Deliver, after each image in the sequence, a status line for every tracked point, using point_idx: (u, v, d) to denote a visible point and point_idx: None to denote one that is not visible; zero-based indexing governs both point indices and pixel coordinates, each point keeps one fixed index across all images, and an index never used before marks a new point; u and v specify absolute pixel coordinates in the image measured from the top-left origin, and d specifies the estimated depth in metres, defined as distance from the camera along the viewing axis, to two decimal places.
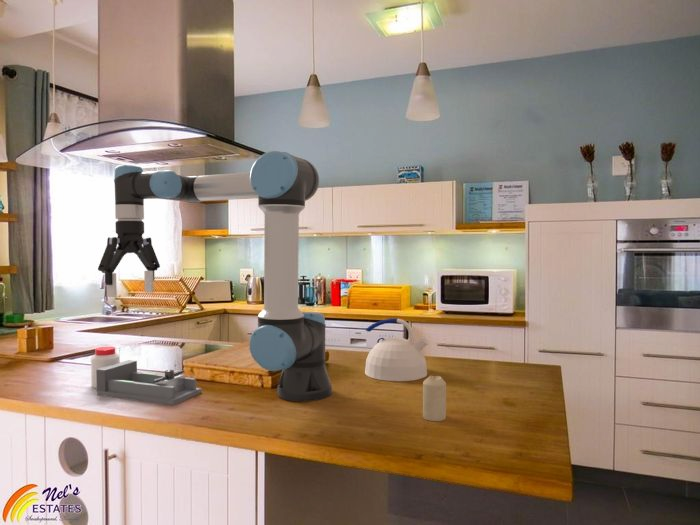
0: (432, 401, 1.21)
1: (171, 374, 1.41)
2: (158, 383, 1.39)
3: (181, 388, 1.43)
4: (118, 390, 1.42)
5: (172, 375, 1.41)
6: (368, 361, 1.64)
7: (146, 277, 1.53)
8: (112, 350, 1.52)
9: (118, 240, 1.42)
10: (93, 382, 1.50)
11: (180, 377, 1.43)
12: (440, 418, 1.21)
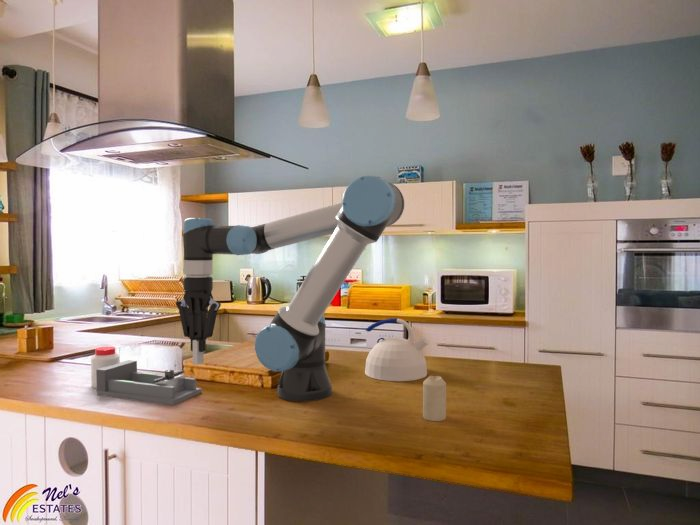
0: (432, 401, 1.21)
1: (171, 374, 1.41)
2: (158, 383, 1.39)
3: (181, 388, 1.43)
4: (118, 390, 1.42)
5: (172, 375, 1.41)
6: (368, 361, 1.64)
7: None
8: (112, 350, 1.52)
9: (183, 300, 1.38)
10: (93, 382, 1.50)
11: (180, 377, 1.43)
12: (440, 418, 1.21)
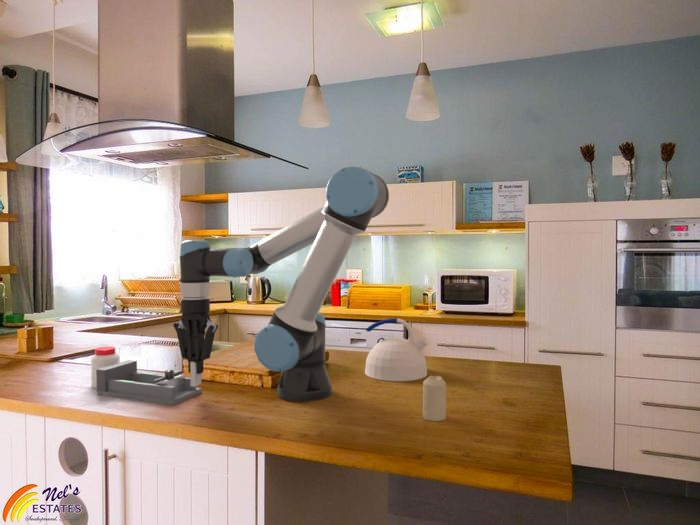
0: (432, 401, 1.21)
1: (171, 374, 1.41)
2: (158, 383, 1.39)
3: (181, 388, 1.43)
4: (118, 390, 1.42)
5: (172, 375, 1.41)
6: (368, 361, 1.64)
7: None
8: (112, 350, 1.52)
9: (181, 322, 1.39)
10: (93, 382, 1.50)
11: (180, 377, 1.43)
12: (440, 418, 1.21)
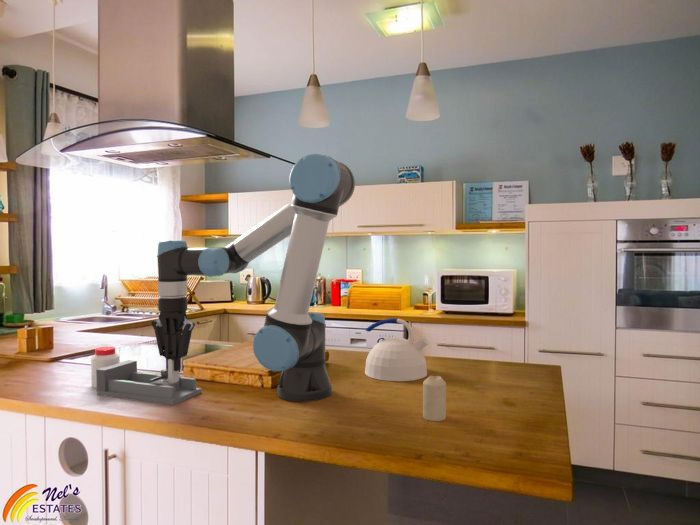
0: (432, 401, 1.21)
1: (167, 374, 1.41)
2: (154, 383, 1.39)
3: (177, 388, 1.44)
4: (118, 390, 1.42)
5: None
6: (368, 361, 1.64)
7: None
8: (112, 350, 1.52)
9: (159, 320, 1.42)
10: (93, 382, 1.50)
11: None
12: (440, 418, 1.21)
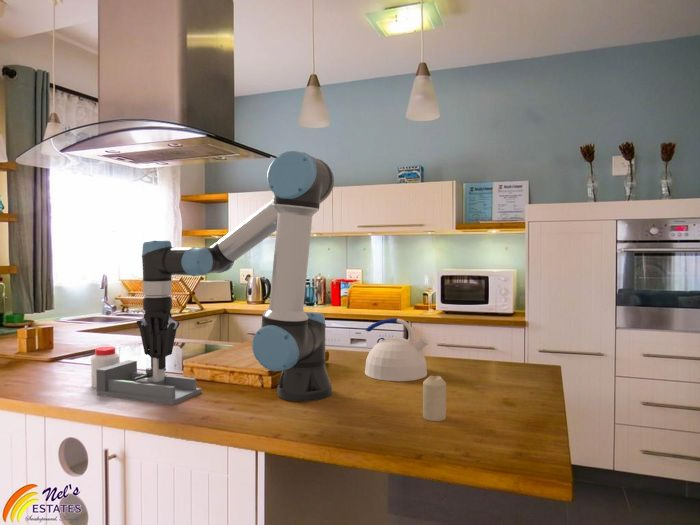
0: (432, 401, 1.21)
1: (152, 372, 1.43)
2: (139, 381, 1.41)
3: None
4: (118, 390, 1.42)
5: None
6: (368, 361, 1.64)
7: None
8: (112, 350, 1.52)
9: (144, 319, 1.43)
10: (93, 382, 1.50)
11: None
12: (440, 418, 1.21)
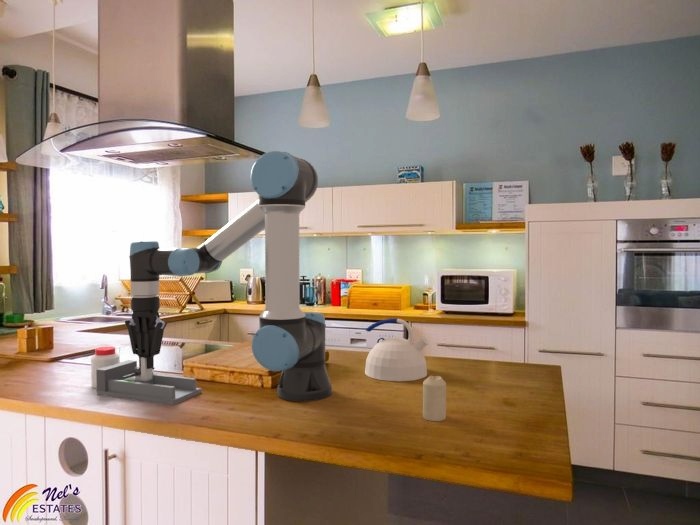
0: (432, 401, 1.21)
1: (140, 371, 1.44)
2: (127, 379, 1.42)
3: None
4: (118, 390, 1.42)
5: None
6: (368, 361, 1.64)
7: None
8: (112, 350, 1.52)
9: (132, 319, 1.45)
10: (93, 382, 1.50)
11: None
12: (440, 418, 1.21)
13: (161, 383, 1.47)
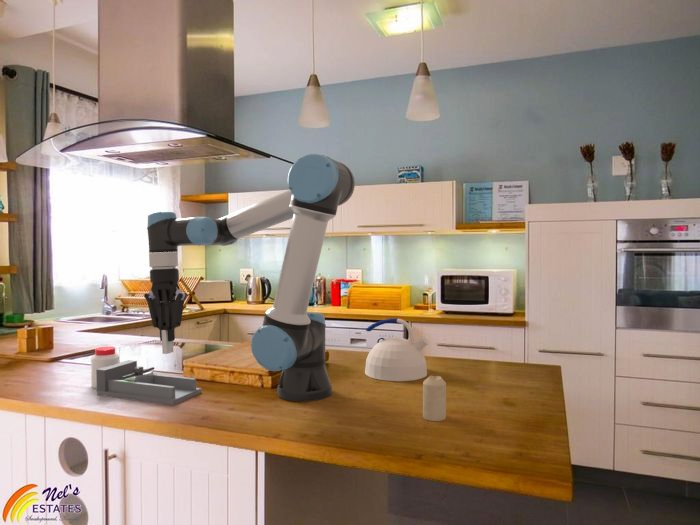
0: (432, 401, 1.21)
1: (140, 371, 1.44)
2: (127, 379, 1.42)
3: None
4: (118, 390, 1.42)
5: (141, 372, 1.45)
6: (368, 361, 1.64)
7: None
8: (112, 350, 1.52)
9: (151, 292, 1.43)
10: (93, 382, 1.50)
11: (149, 374, 1.47)
12: (440, 418, 1.21)
13: (161, 383, 1.47)
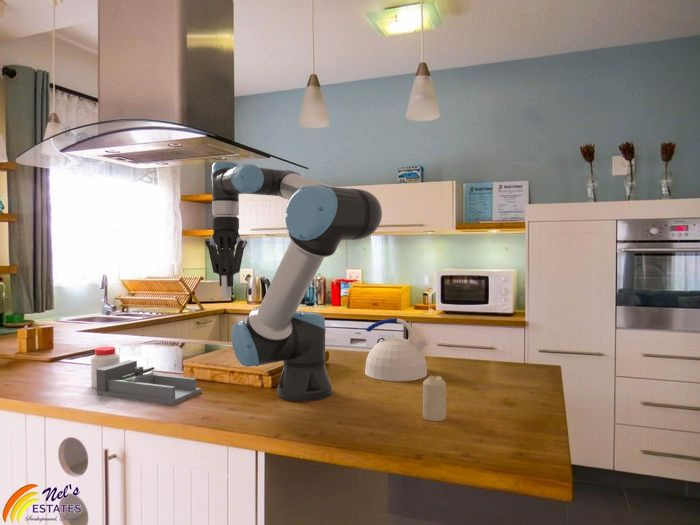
0: (432, 401, 1.21)
1: (140, 371, 1.44)
2: (127, 379, 1.42)
3: None
4: (118, 390, 1.42)
5: (141, 372, 1.45)
6: (368, 361, 1.64)
7: None
8: (112, 350, 1.52)
9: (212, 239, 1.50)
10: (93, 382, 1.50)
11: (149, 374, 1.47)
12: (440, 418, 1.21)
13: (161, 383, 1.47)
